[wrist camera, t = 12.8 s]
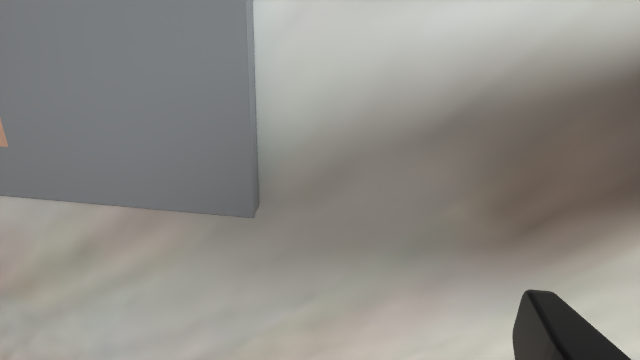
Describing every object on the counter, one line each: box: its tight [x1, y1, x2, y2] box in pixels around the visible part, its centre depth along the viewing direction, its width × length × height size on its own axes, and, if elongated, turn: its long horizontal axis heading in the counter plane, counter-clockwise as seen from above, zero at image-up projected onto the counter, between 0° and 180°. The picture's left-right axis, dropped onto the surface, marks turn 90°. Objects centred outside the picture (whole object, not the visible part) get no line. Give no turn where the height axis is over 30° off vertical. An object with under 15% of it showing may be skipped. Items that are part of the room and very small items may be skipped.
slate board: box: [0, 0, 259, 218], centre depth 21 cm, size 18×12×1 cm, turn 88°
